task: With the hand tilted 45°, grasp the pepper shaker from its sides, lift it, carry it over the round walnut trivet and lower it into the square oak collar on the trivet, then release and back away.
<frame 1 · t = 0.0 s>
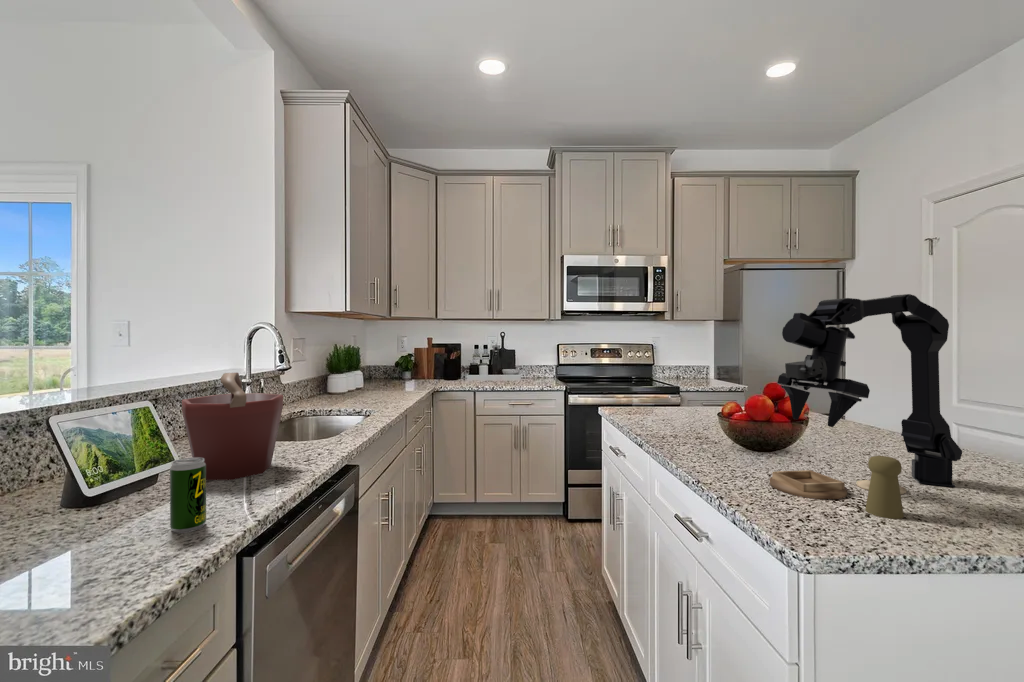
hand: (812, 422, 106), 15 cm above the countertop, tool pointing down, fingers open, 9 cm apart
bucket: (231, 472, 122), on the countertop
trivet: (807, 488, 109), on the countertop
green soda can: (188, 528, 86), on the countertop
pepper shaker: (884, 514, 94), on the countertop
cork coaster: (880, 488, 110), on the countertop
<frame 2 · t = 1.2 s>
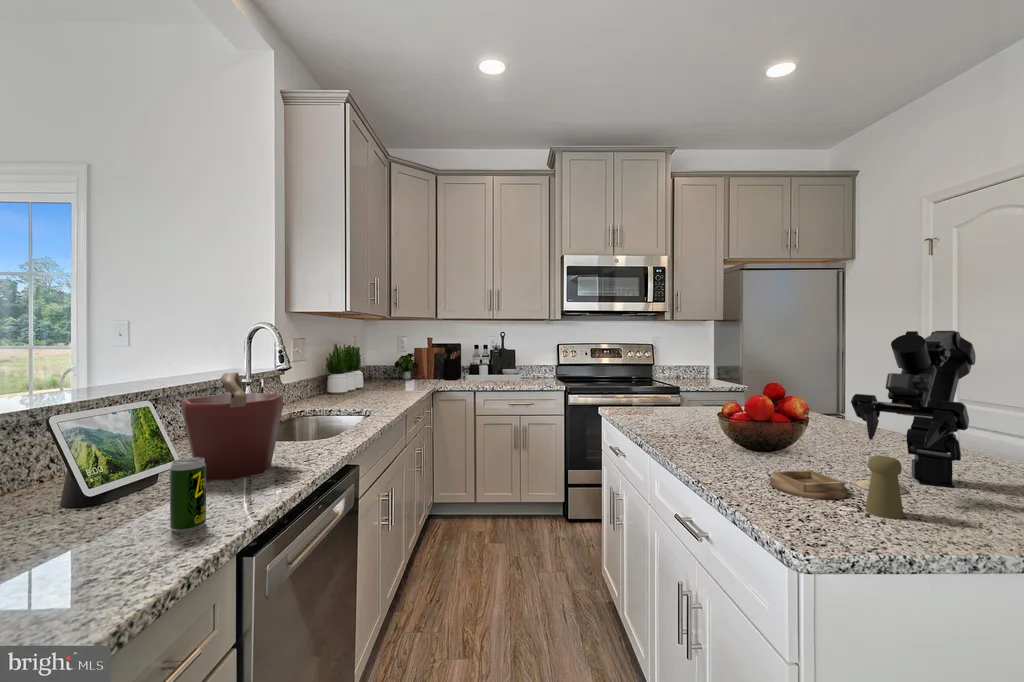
hand: (896, 442, 98), 13 cm above the countertop, tool tilted 45°, fingers open, 9 cm apart
nothing on the countertop moved.
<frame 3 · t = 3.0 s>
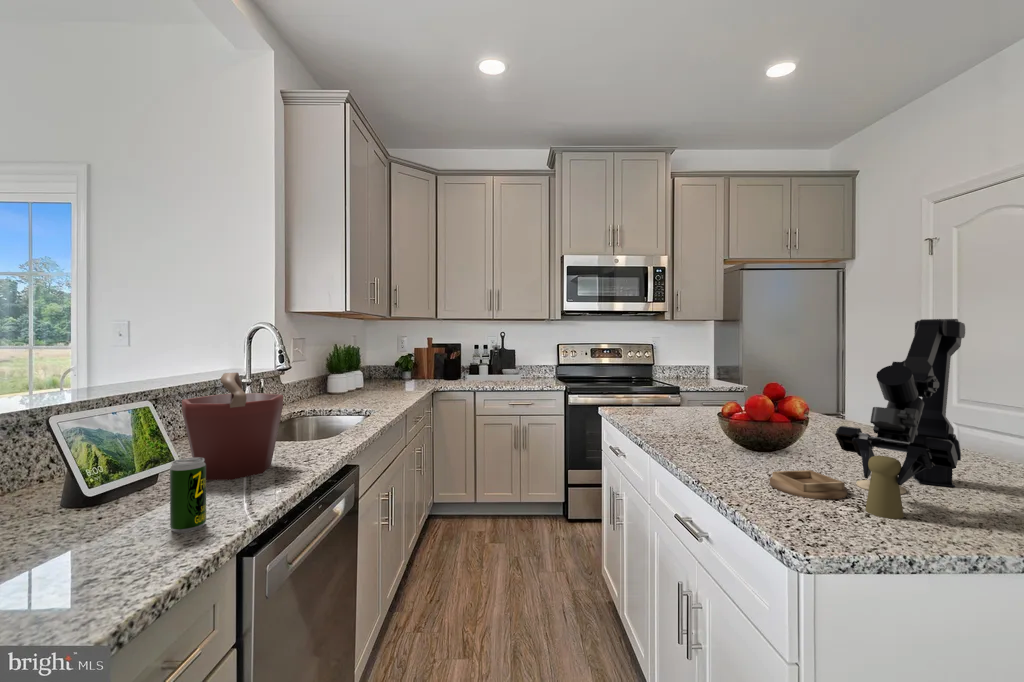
hand: (881, 480, 93), 7 cm above the countertop, tool tilted 45°, fingers closed on pepper shaker, 5 cm apart
pepper shaker: (884, 514, 94), on the countertop, touching gripper
everything else where it was.
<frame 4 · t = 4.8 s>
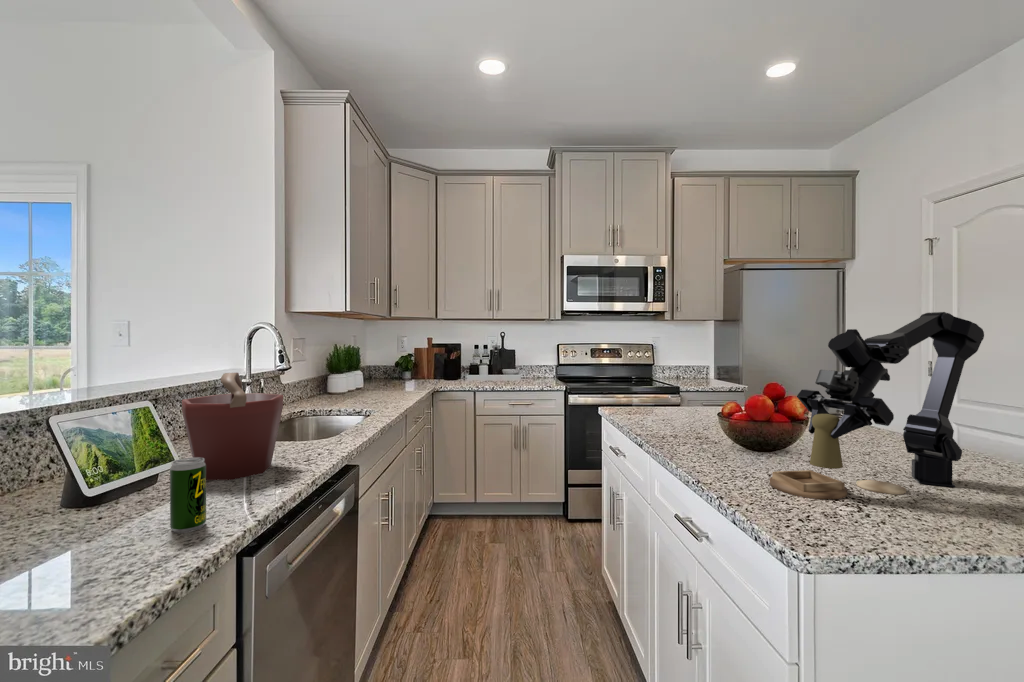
hand: (821, 434, 104), 13 cm above the countertop, tool tilted 45°, fingers closed on pepper shaker, 5 cm apart
pepper shaker: (826, 465, 104), point 6 cm above the countertop, touching gripper
everything else where it was.
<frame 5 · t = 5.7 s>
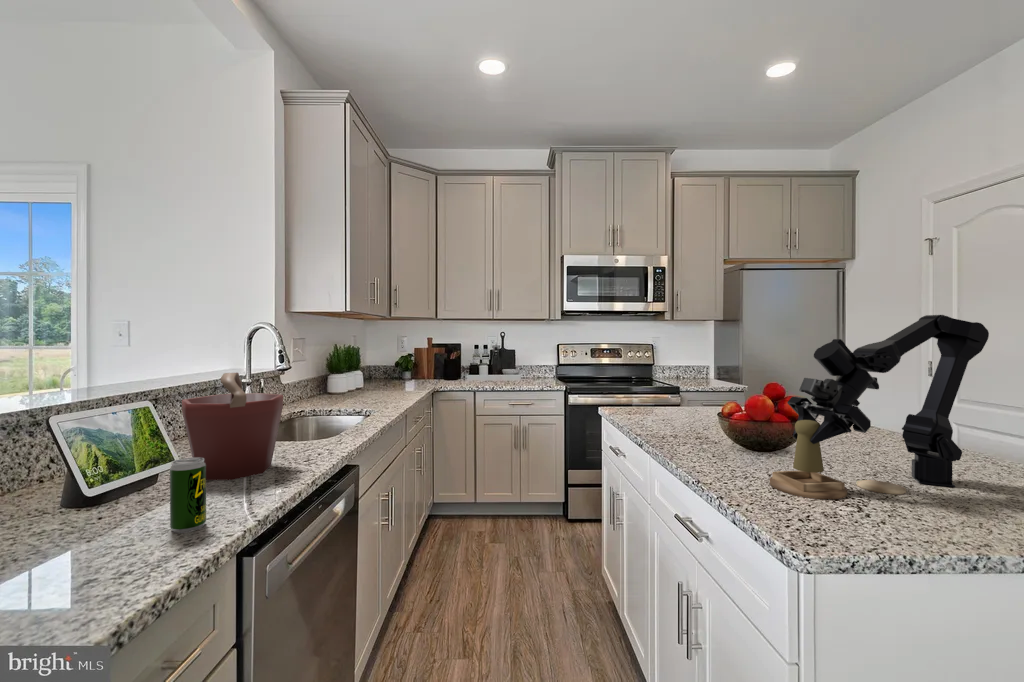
hand: (802, 440, 109), 11 cm above the countertop, tool tilted 45°, fingers closed on pepper shaker, 5 cm apart
pepper shaker: (808, 469, 109), point 4 cm above the countertop, touching gripper
everything else where it was.
when the fingers open (9 cm above the countertop, at t = 6.5 s): pepper shaker drops 1 cm, resting on trivet.
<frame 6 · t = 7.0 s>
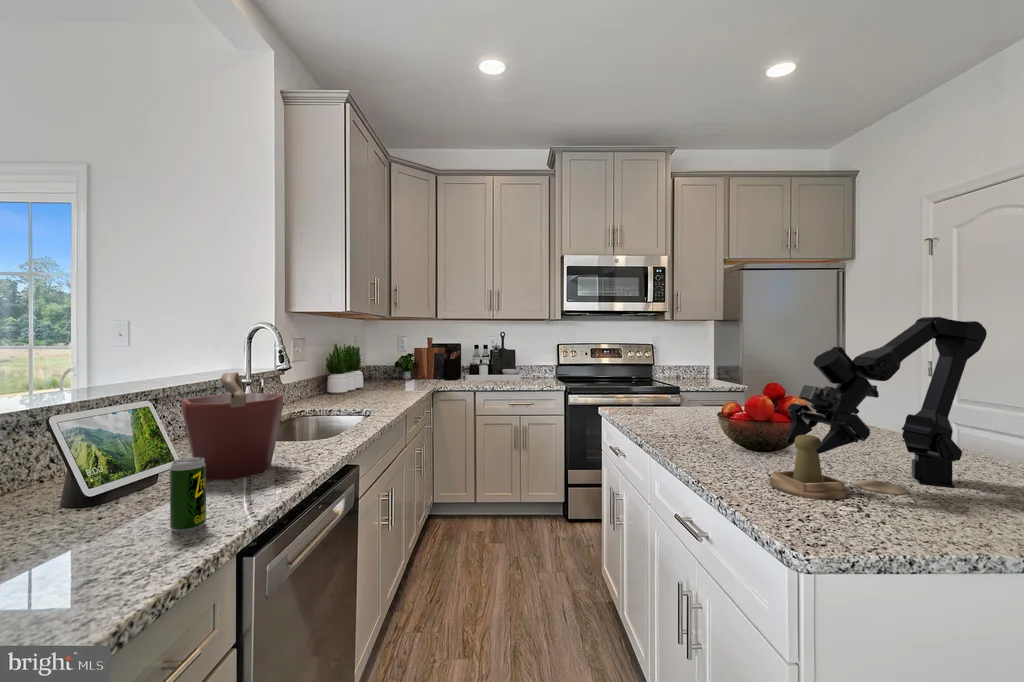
hand: (801, 447, 109), 9 cm above the countertop, tool tilted 45°, fingers open, 9 cm apart
pepper shaker: (807, 484, 109), point 1 cm above the countertop, touching trivet
everything else where it was.
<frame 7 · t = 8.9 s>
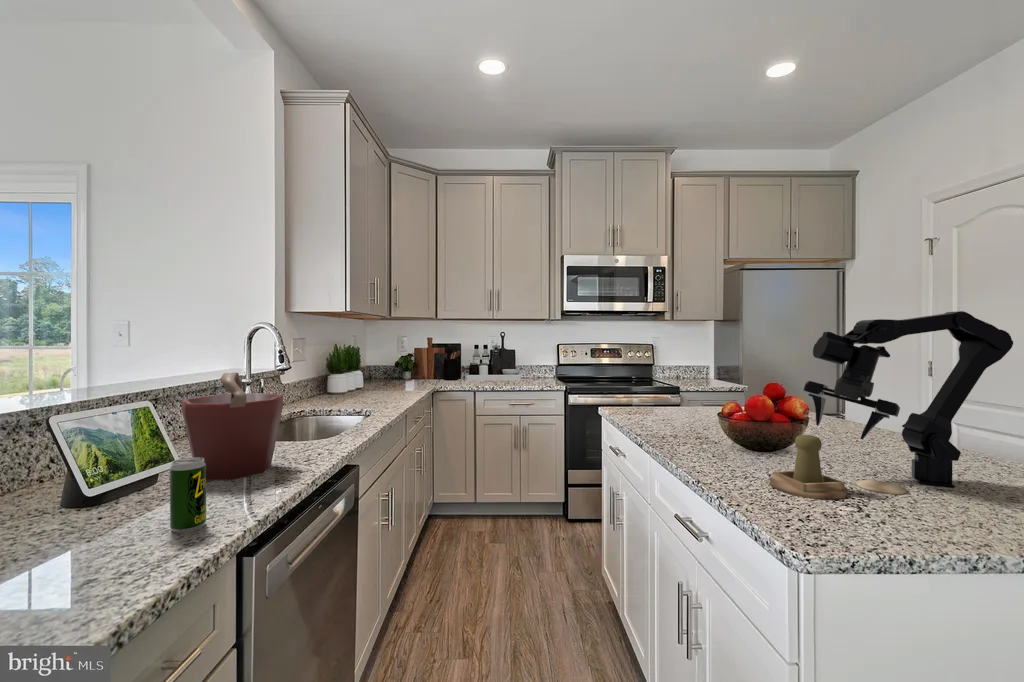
hand: (838, 432, 116), 11 cm above the countertop, tool tilted 15°, fingers open, 9 cm apart
nothing on the countertop moved.
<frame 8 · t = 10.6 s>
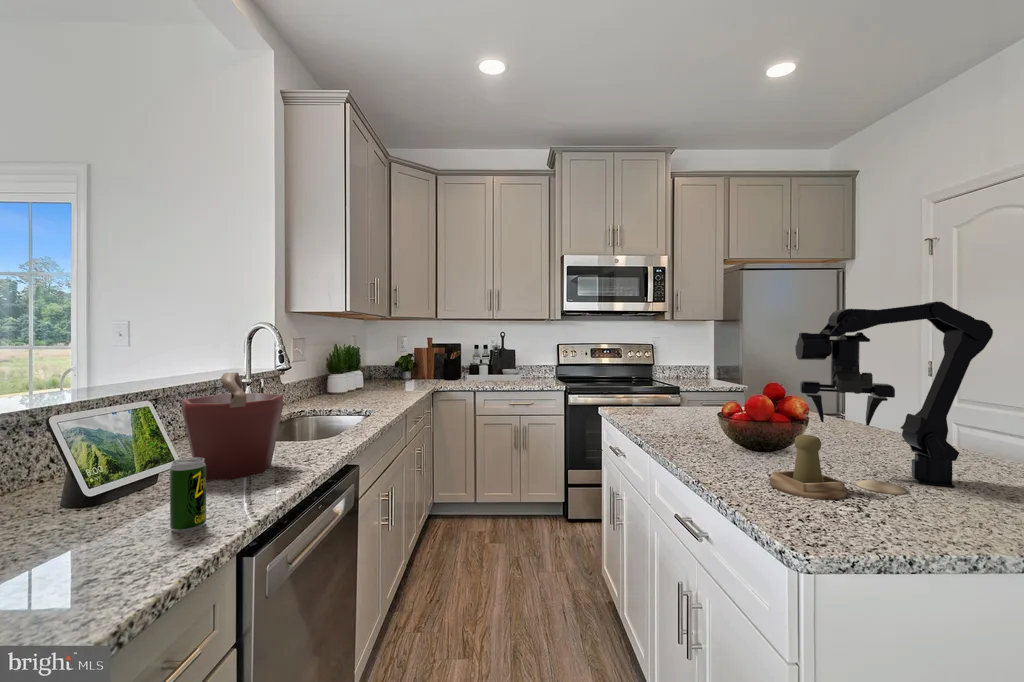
hand: (844, 423, 119), 13 cm above the countertop, tool pointing down, fingers open, 9 cm apart
nothing on the countertop moved.
at the end: pepper shaker 0.1 cm off-centre on the trivet, point 0.8 cm above the trivet's base; pepper shaker tilted 0°; the gripper is holding nothing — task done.
